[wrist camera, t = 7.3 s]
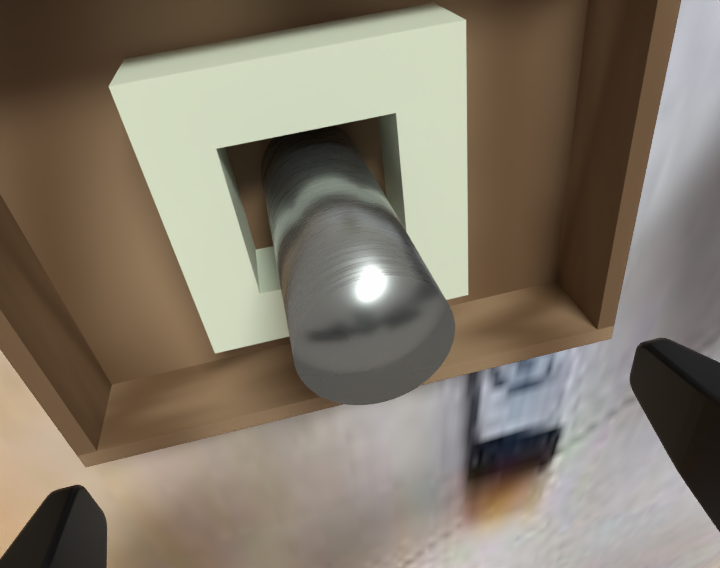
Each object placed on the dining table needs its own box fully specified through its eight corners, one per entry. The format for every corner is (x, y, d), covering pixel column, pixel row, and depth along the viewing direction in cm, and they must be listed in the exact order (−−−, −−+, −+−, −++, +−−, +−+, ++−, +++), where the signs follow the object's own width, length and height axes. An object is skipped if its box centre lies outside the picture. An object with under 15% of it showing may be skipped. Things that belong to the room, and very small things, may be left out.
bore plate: (433, 2, 14) (466, 19, 12) (443, 254, 19) (468, 294, 17) (124, 58, 14) (108, 86, 12) (215, 305, 18) (215, 353, 16)
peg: (353, 111, 16) (452, 258, 9) (366, 204, 17) (457, 382, 11) (249, 132, 15) (275, 301, 9) (273, 225, 17) (310, 421, 11)
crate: (616, -172, 13) (720, -188, 11) (561, 281, 22) (611, 338, 19) (-159, -50, 12) (-275, -31, 9) (104, 387, 20) (85, 467, 17)
